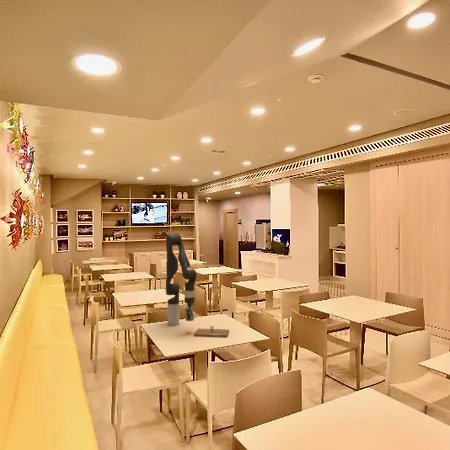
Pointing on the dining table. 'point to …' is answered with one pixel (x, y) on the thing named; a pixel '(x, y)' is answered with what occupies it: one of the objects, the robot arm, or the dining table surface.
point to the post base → (211, 332)
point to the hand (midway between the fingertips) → (189, 318)
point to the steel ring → (190, 317)
